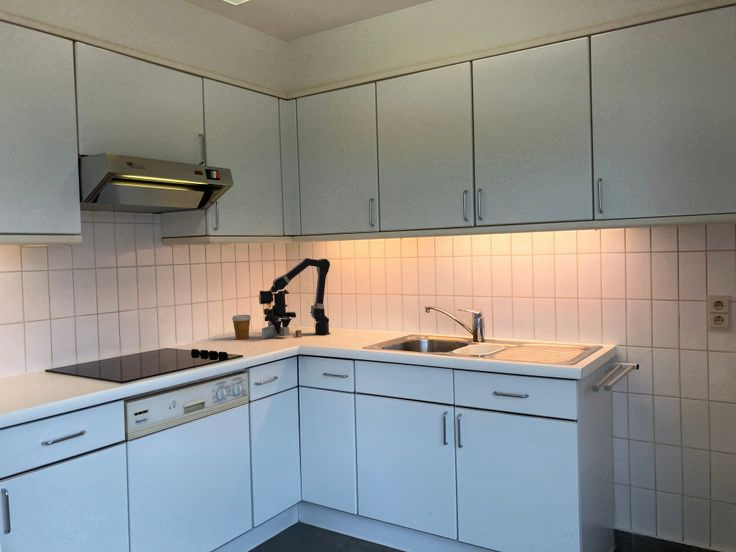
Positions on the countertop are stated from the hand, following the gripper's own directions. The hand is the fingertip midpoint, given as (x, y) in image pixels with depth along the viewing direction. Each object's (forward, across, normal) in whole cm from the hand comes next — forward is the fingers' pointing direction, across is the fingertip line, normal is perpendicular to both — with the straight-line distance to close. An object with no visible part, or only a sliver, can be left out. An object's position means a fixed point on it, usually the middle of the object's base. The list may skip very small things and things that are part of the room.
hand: (281, 333), depth 325 cm
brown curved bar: (+2, -8, -5) cm, 10 cm away
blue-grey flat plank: (+2, -2, -8) cm, 8 cm away
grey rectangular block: (+1, 0, 0) cm, 1 cm away
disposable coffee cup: (+2, +10, -18) cm, 21 cm away
